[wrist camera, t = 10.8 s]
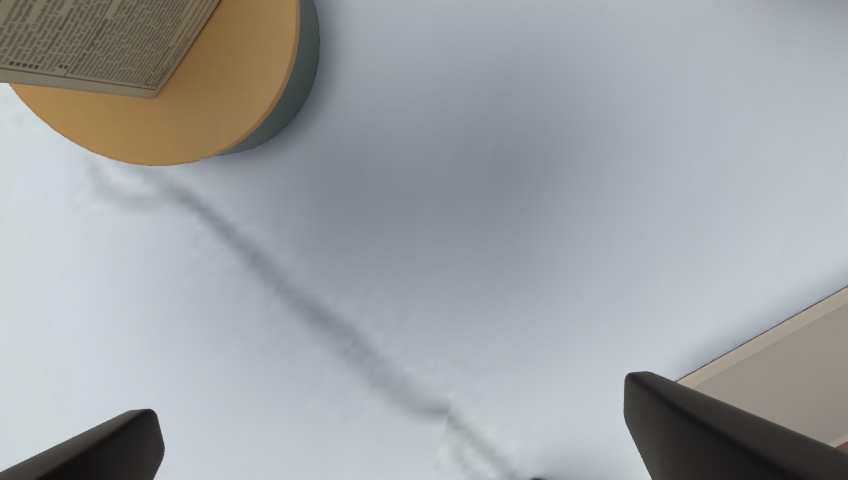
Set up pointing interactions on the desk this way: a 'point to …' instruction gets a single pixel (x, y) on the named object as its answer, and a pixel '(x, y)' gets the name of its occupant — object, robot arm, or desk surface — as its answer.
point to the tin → (201, 90)
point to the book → (790, 373)
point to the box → (98, 43)
